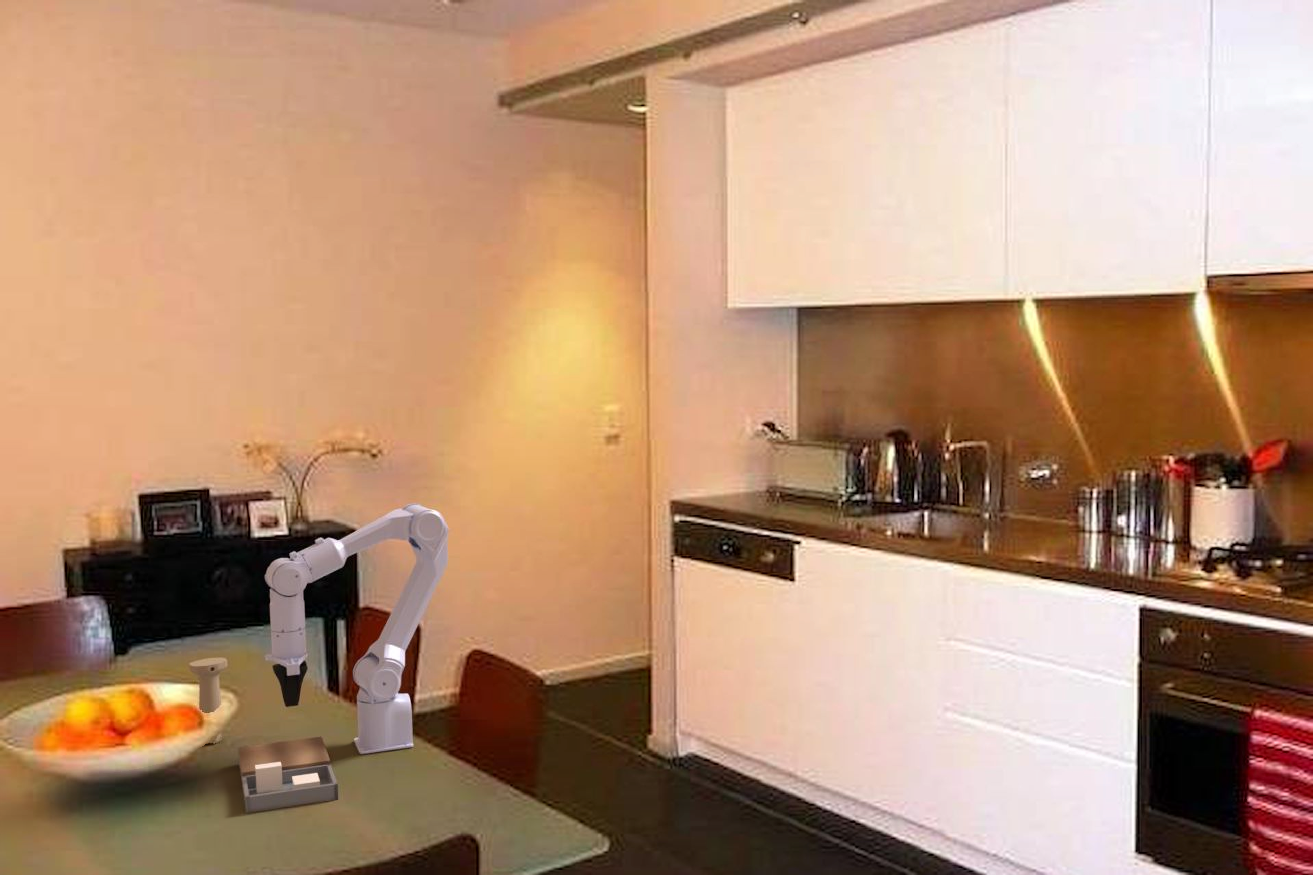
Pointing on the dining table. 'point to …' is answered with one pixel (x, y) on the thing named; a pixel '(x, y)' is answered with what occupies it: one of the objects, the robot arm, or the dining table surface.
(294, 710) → the dining table surface
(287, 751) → the board
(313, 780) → the tile
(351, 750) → the dining table surface
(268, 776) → the tile
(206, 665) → the handle
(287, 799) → the tray
